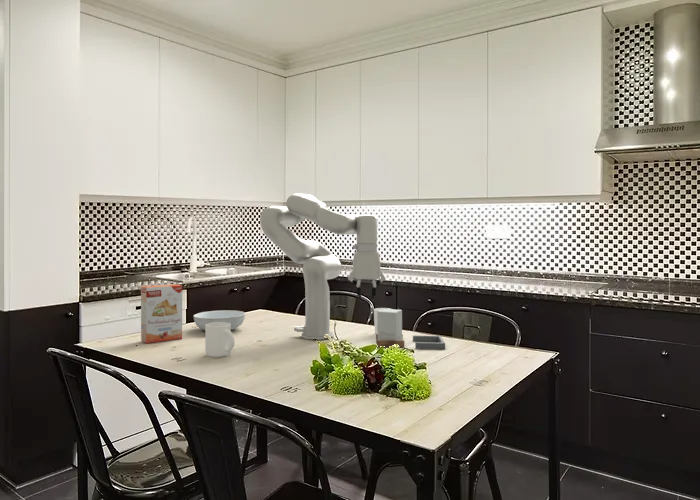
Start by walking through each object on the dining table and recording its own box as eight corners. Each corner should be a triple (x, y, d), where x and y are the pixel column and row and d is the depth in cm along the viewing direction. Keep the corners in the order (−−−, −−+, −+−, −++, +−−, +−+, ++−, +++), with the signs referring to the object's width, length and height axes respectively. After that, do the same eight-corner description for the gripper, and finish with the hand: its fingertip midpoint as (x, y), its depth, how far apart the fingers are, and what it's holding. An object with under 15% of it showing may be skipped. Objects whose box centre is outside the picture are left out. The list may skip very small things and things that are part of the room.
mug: (243, 355, 180) (243, 325, 180) (223, 360, 173) (223, 328, 173) (220, 350, 187) (219, 321, 187) (200, 355, 181) (200, 324, 180)
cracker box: (146, 344, 197) (146, 287, 196) (140, 341, 201) (139, 285, 200) (183, 339, 206) (182, 284, 205) (176, 336, 210) (176, 283, 209)
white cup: (393, 332, 222) (393, 308, 221) (392, 336, 214) (393, 311, 213) (374, 331, 222) (374, 307, 222) (373, 335, 215) (373, 310, 214)
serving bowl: (222, 323, 238) (222, 308, 238) (255, 329, 226) (255, 313, 226) (182, 331, 221) (182, 314, 221) (216, 337, 209) (216, 319, 209)
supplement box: (402, 343, 201) (402, 309, 200) (395, 347, 194) (396, 312, 194) (384, 341, 204) (384, 308, 203) (376, 345, 197) (377, 311, 197)
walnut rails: (376, 347, 193) (376, 340, 193) (376, 340, 205) (376, 334, 205) (404, 348, 193) (404, 341, 193) (402, 340, 205) (402, 334, 205)
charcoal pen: (415, 348, 192) (415, 342, 192) (412, 340, 205) (412, 335, 205) (445, 348, 192) (445, 343, 192) (440, 341, 205) (440, 335, 205)
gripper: (343, 248, 194) (343, 299, 195) (389, 249, 194) (389, 299, 194) (344, 247, 202) (344, 296, 203) (389, 248, 201) (388, 296, 202)
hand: (366, 297), depth 199 cm, fingers open, 4 cm apart
